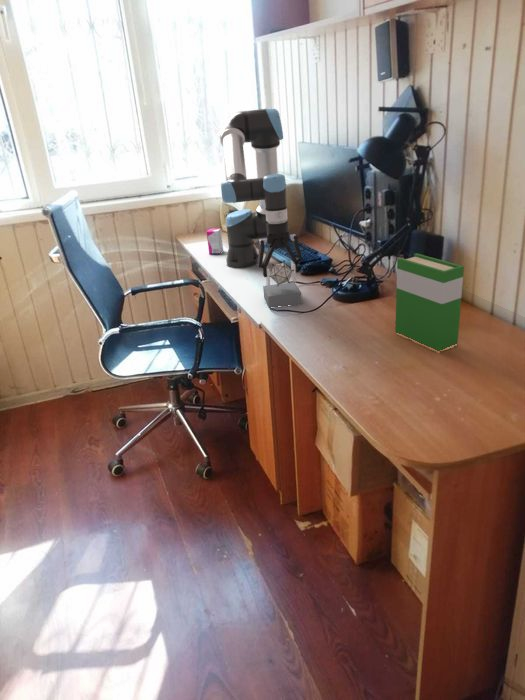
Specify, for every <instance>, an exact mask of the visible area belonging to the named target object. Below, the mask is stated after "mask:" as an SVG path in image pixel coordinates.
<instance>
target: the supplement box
mask: <svg viewBox="0 0 525 700" xmlns="http://www.w3.org/2000/svg"><path fill="white" fill-rule="evenodd" d="M206 239H207V246H208V253H209V255H221V254H222V253H223V252H224V246H223V238H222V228H209V229H208V230H206ZM222 251H223V252H222ZM221 252H222V253H221ZM218 253H219V254H218ZM220 253H221V254H220Z"/></svg>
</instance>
